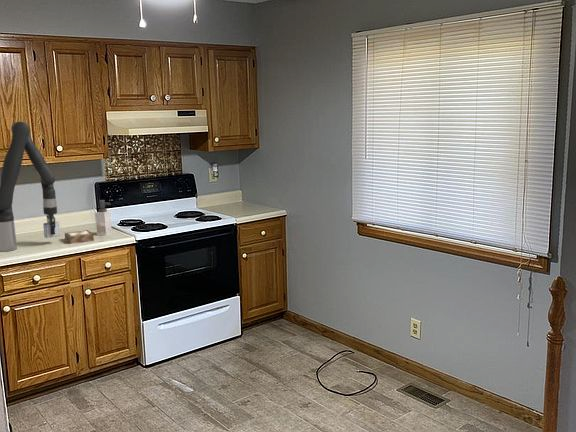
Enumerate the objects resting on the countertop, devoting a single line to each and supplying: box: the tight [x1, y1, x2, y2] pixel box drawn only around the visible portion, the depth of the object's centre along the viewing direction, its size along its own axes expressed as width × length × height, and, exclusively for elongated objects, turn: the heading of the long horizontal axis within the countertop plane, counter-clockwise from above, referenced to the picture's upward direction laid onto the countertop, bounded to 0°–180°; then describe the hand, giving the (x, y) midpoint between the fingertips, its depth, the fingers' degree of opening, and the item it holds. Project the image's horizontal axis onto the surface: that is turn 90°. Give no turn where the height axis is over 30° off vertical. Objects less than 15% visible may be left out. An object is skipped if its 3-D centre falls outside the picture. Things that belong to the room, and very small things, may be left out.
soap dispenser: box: [95, 199, 113, 236], centre depth 369 cm, size 6×9×22 cm
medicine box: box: [42, 221, 61, 239], centre depth 347 cm, size 8×4×9 cm, turn 141°
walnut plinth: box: [64, 229, 95, 245], centre depth 357 cm, size 14×14×4 cm
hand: (52, 233), depth 348 cm, fingers closed on medicine box, 5 cm apart
